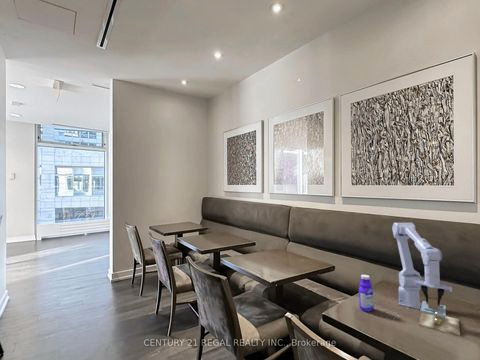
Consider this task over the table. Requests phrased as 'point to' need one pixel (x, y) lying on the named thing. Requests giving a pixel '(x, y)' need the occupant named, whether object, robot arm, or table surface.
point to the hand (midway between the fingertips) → (433, 303)
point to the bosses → (438, 319)
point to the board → (446, 325)
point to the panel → (427, 311)
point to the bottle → (366, 294)
